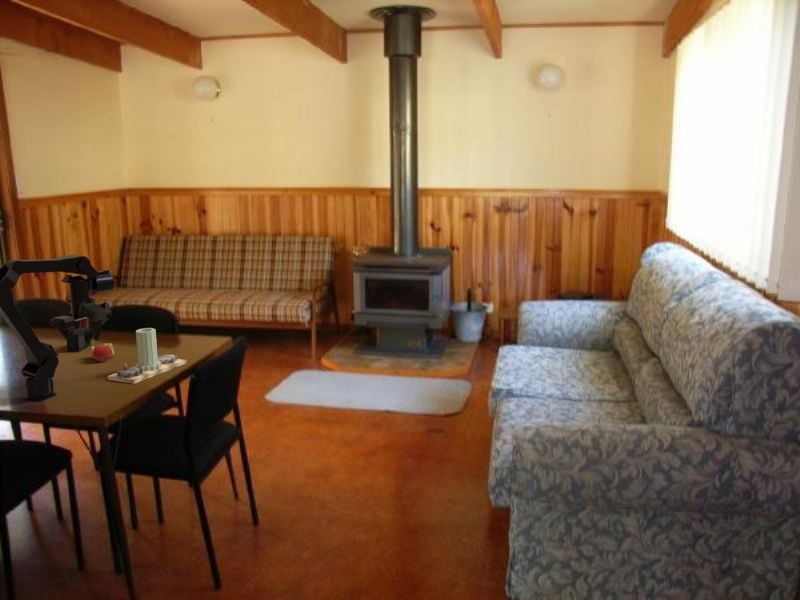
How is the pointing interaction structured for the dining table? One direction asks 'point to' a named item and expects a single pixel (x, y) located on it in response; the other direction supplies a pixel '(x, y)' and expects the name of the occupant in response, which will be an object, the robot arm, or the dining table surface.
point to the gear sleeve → (147, 349)
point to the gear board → (138, 375)
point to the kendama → (102, 352)
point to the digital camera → (81, 339)
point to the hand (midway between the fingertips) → (84, 344)
